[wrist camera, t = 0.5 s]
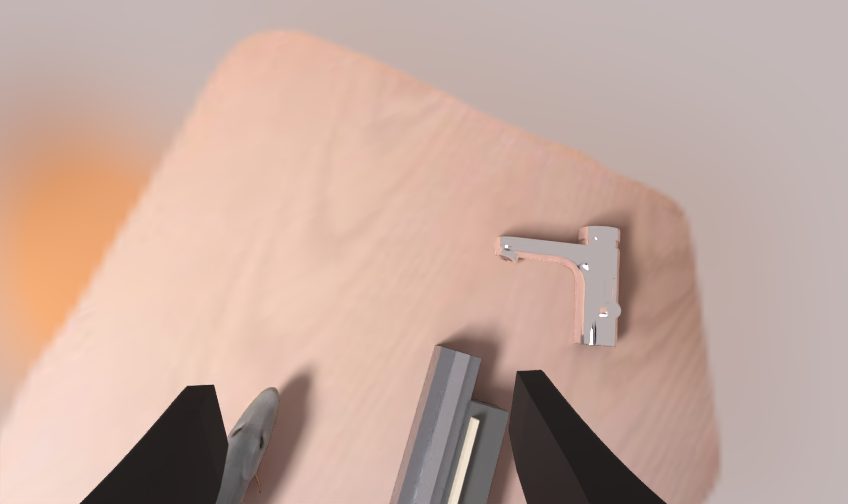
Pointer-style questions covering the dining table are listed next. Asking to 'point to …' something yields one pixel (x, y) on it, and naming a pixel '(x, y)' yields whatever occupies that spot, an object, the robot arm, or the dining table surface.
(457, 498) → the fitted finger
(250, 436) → the fish
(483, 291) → the dining table surface
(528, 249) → the silver l-shaped piece
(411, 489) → the rail
